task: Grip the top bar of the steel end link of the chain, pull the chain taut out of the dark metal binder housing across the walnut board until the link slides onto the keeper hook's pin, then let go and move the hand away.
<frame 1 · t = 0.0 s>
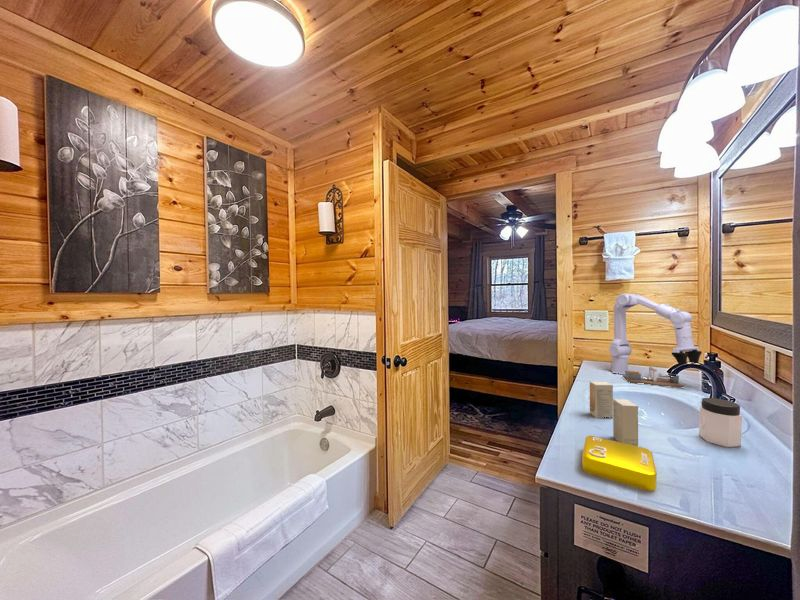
hand: (689, 367, 141), 11 cm above the counter, tool pointing down, fingers open, 7 cm apart
element tile: (617, 469, 81), on the counter
keeper hook: (673, 384, 151), resting on board
board: (651, 382, 154), on the counter
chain: (642, 373, 155), point 4 cm above the counter, slide at 0.0 cm
jar: (719, 441, 95), on the counter
binder housing: (632, 380, 157), resting on board
skincare box: (624, 442, 95), on the counter
skincare box 2: (600, 416, 114), on the counter
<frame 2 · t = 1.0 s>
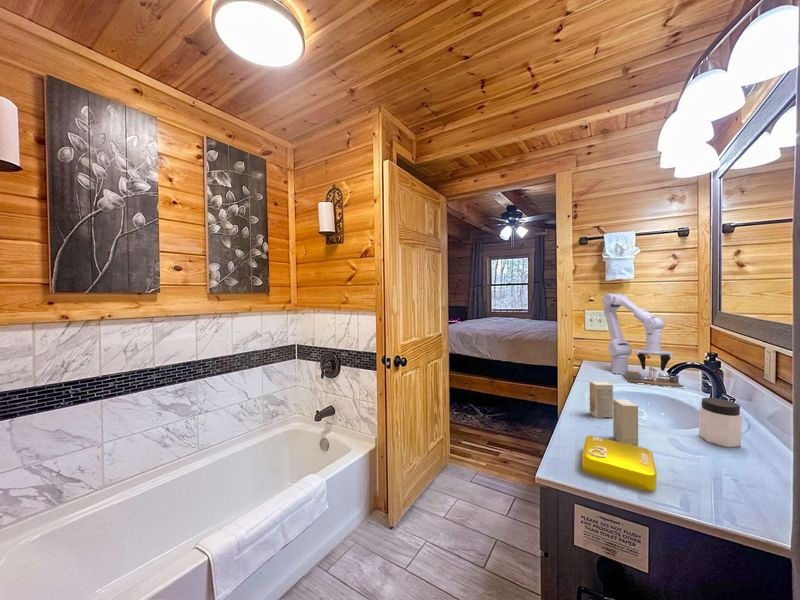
hand: (652, 369, 154), 6 cm above the counter, tool pointing down, fingers open, 7 cm apart
nothing on the counter moved.
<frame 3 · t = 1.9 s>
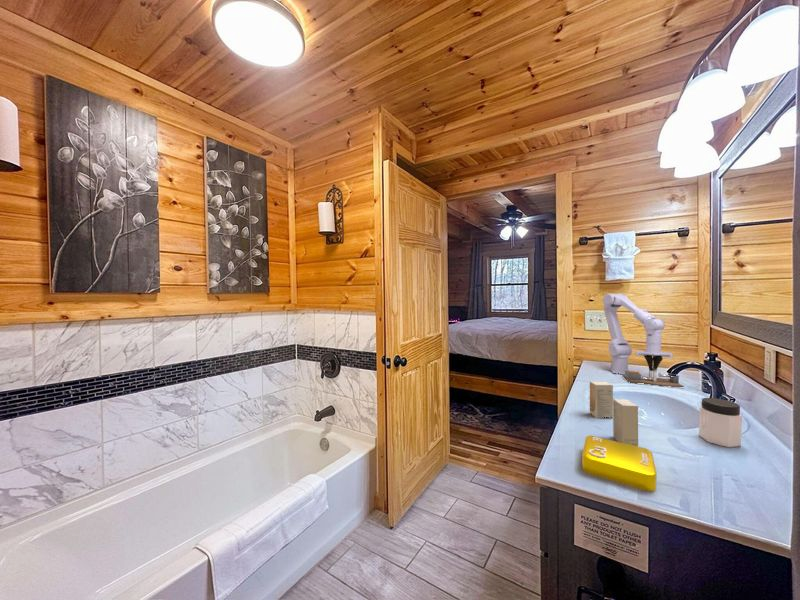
hand: (652, 370, 154), 6 cm above the counter, tool pointing down, fingers closed on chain
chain: (642, 373, 155), point 4 cm above the counter, slide at 0.0 cm, touching gripper
everything else where it was.
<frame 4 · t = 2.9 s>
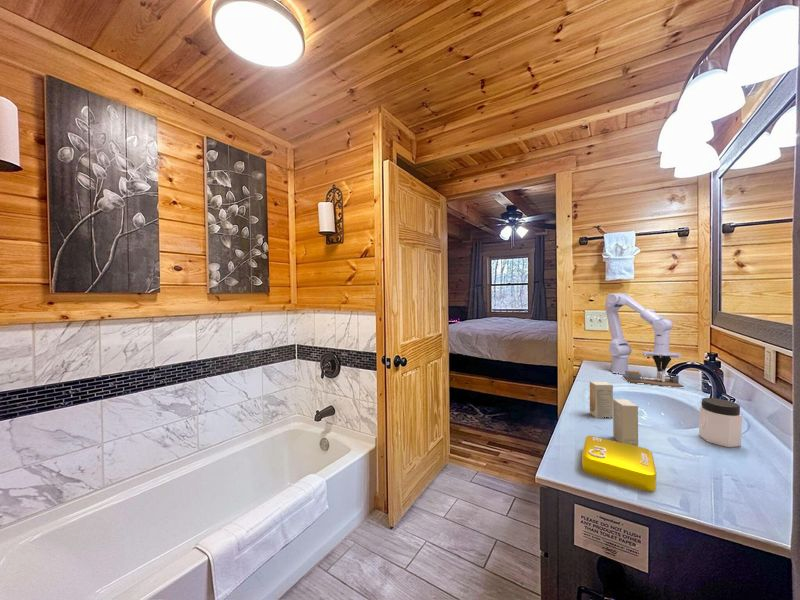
hand: (661, 371, 152), 6 cm above the counter, tool pointing down, fingers closed on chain
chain: (650, 373, 154), point 4 cm above the counter, slide at 3.3 cm, touching gripper
everything else where it was.
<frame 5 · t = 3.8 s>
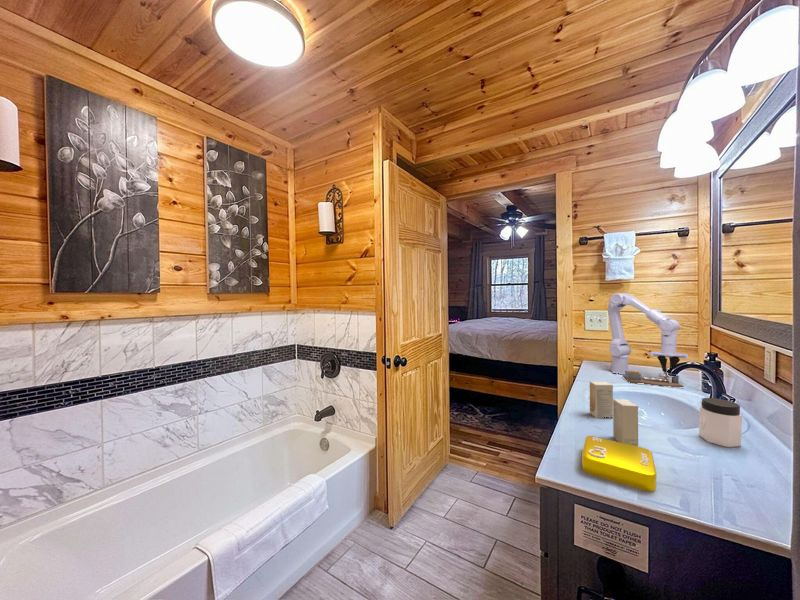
hand: (667, 371, 151), 6 cm above the counter, tool pointing down, fingers closed
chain: (657, 374, 153), point 4 cm above the counter, slide at 6.0 cm
everything else where it was.
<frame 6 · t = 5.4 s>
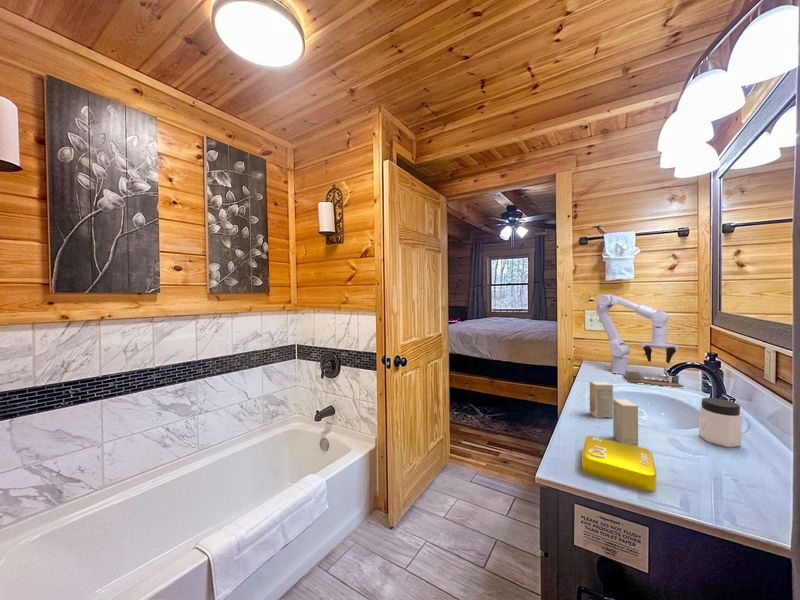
hand: (658, 361, 158), 9 cm above the counter, tool pointing down, fingers open, 7 cm apart
nothing on the counter moved.
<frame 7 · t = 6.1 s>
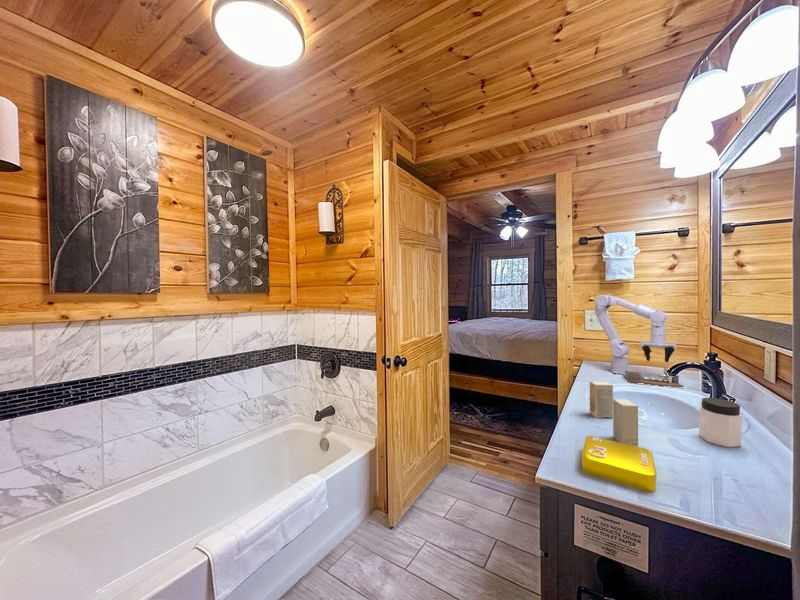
hand: (657, 361, 159), 9 cm above the counter, tool pointing down, fingers open, 7 cm apart
nothing on the counter moved.
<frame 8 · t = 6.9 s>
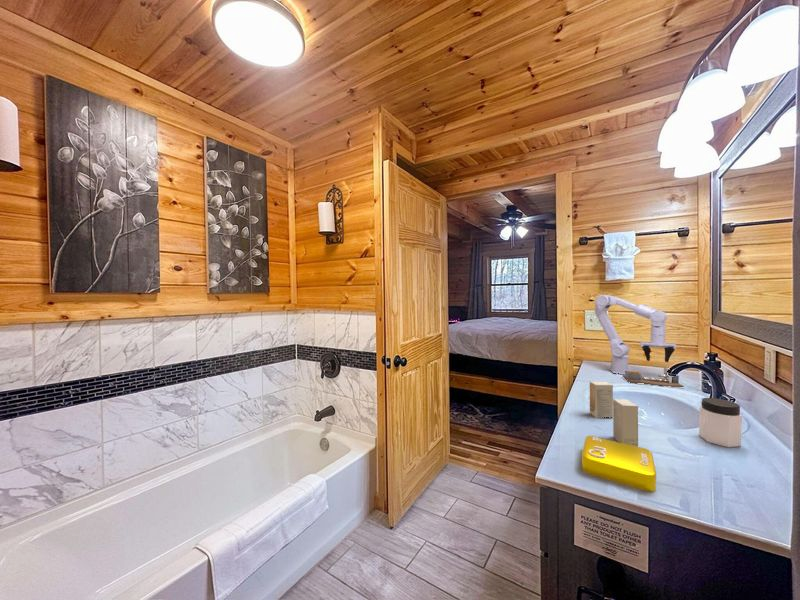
hand: (657, 361, 159), 9 cm above the counter, tool pointing down, fingers open, 7 cm apart
nothing on the counter moved.
at the end: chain slide at 6.0 cm; the gripper is holding nothing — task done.
